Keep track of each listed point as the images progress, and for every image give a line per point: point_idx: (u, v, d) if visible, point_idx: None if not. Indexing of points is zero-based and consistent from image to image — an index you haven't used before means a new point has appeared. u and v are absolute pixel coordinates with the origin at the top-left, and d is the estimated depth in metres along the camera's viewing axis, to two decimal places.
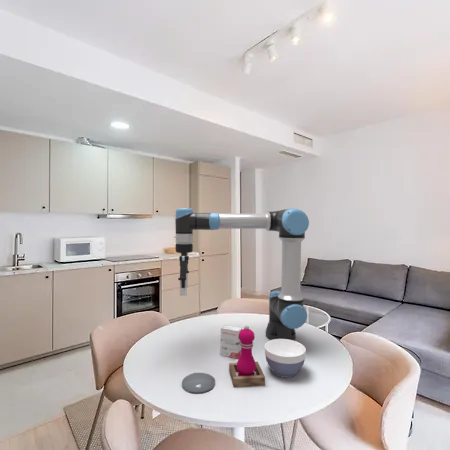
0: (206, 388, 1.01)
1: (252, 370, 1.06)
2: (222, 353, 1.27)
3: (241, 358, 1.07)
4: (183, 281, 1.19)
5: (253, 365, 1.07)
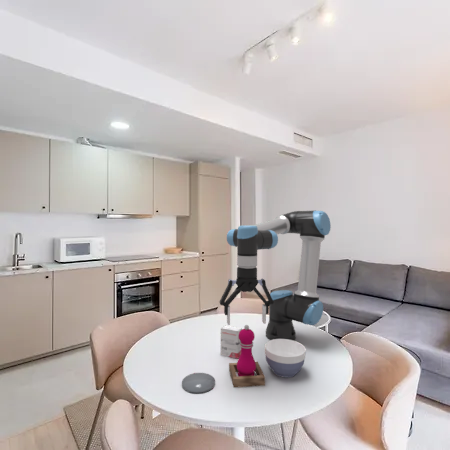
0: (206, 388, 1.01)
1: (252, 370, 1.06)
2: (222, 353, 1.27)
3: (241, 358, 1.07)
4: (224, 307, 1.07)
5: (253, 365, 1.07)
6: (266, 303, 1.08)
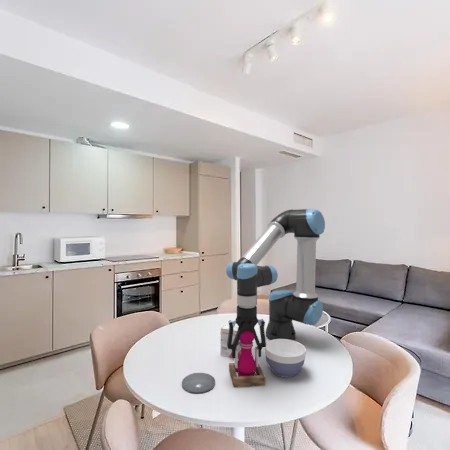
0: (206, 388, 1.01)
1: (252, 370, 1.06)
2: (222, 353, 1.27)
3: (241, 358, 1.07)
4: (232, 350, 1.08)
5: (253, 365, 1.07)
6: (259, 346, 1.08)
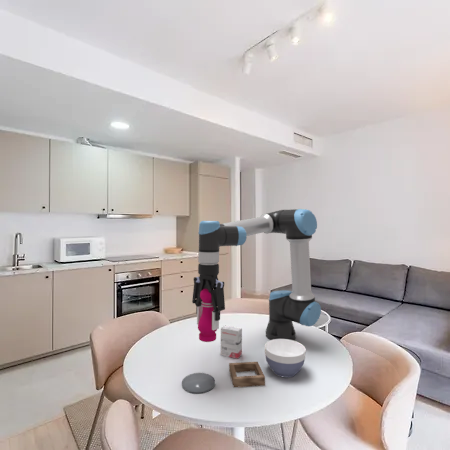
0: (206, 388, 1.01)
1: (204, 330, 1.01)
2: (222, 353, 1.27)
3: (201, 316, 1.05)
4: None
5: (207, 325, 1.01)
6: (214, 308, 1.01)
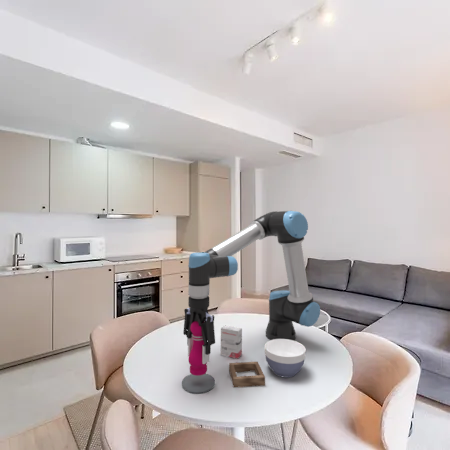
0: (206, 388, 1.01)
1: (195, 364, 1.01)
2: (222, 353, 1.27)
3: None
4: None
5: (197, 359, 1.01)
6: (204, 342, 1.00)
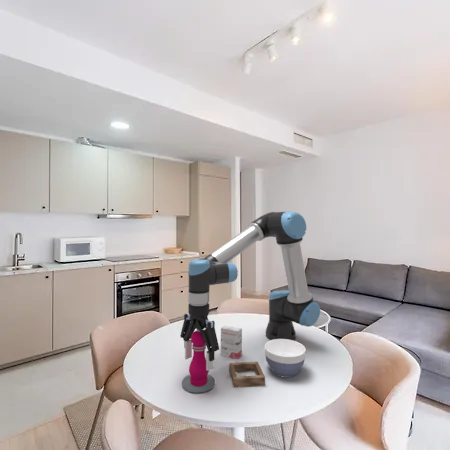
0: (206, 388, 1.01)
1: (195, 374, 1.01)
2: (222, 353, 1.27)
3: (192, 358, 1.05)
4: None
5: (198, 370, 1.01)
6: (208, 349, 0.99)
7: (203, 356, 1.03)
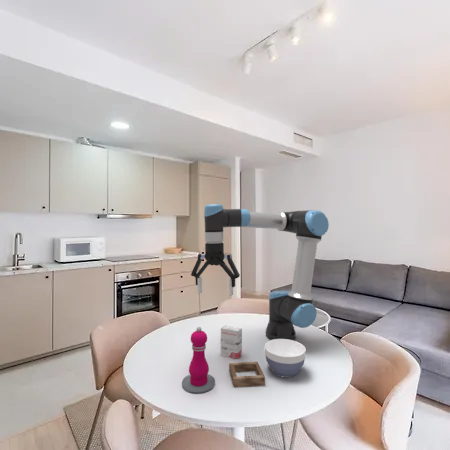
0: (206, 388, 1.01)
1: (195, 374, 1.01)
2: (222, 353, 1.27)
3: (192, 358, 1.05)
4: None
5: (197, 370, 1.01)
6: (231, 277, 1.15)
7: (203, 356, 1.03)
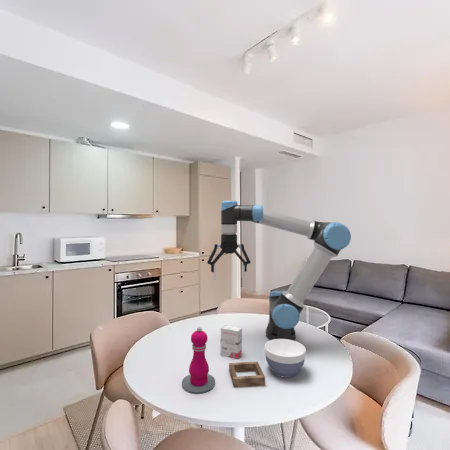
0: (206, 388, 1.01)
1: (195, 374, 1.01)
2: (222, 353, 1.27)
3: (192, 358, 1.05)
4: (211, 266, 1.34)
5: (198, 370, 1.01)
6: (244, 263, 1.35)
7: (203, 356, 1.03)
